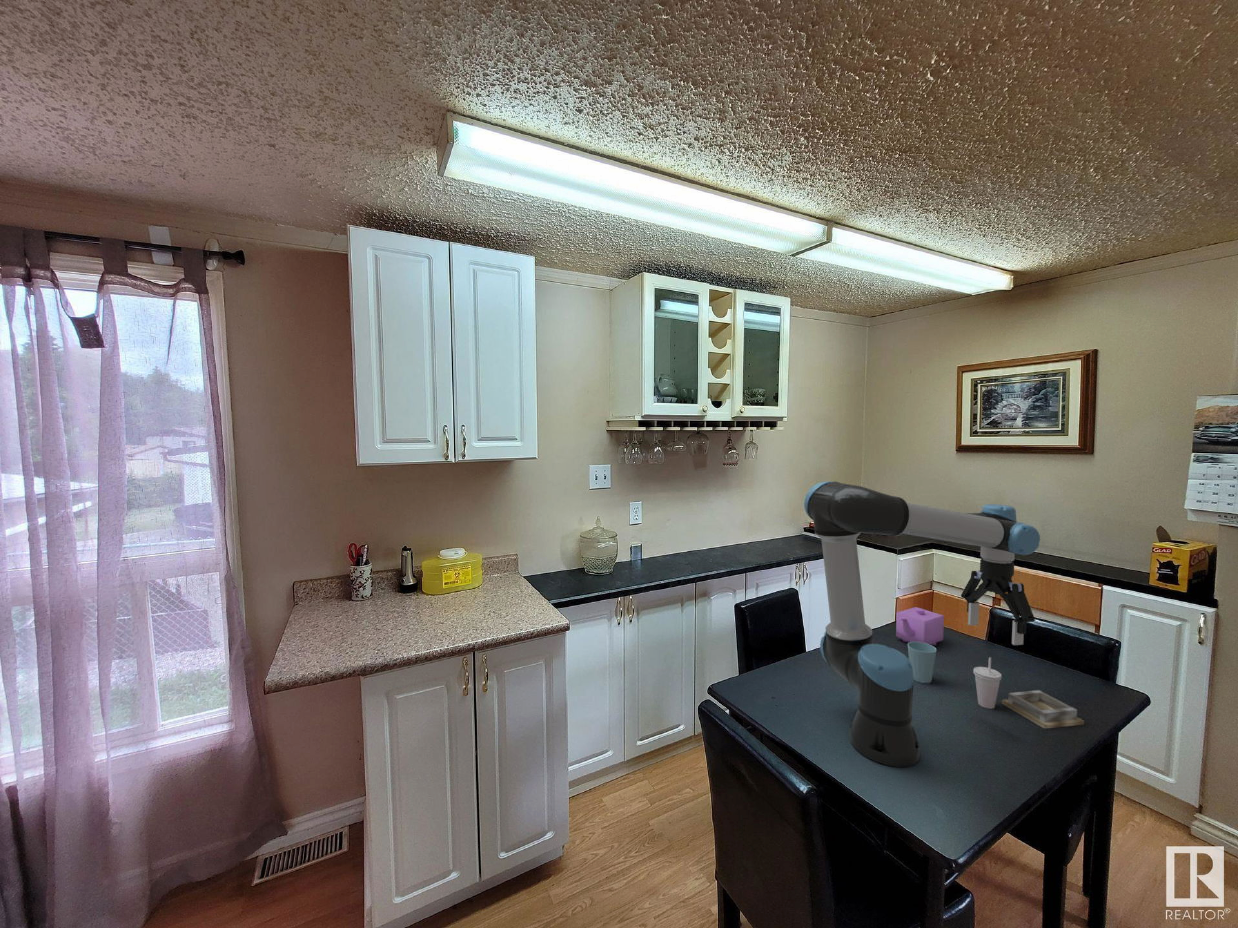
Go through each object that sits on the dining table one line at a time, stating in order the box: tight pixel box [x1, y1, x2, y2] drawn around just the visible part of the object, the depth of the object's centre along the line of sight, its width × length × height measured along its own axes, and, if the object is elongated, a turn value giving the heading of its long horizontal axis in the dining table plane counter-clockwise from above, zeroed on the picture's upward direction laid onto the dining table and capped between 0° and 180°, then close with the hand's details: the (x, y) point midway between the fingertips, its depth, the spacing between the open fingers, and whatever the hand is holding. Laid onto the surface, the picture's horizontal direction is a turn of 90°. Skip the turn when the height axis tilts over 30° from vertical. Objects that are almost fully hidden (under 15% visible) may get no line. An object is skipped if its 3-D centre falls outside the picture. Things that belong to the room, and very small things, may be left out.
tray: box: [1001, 689, 1085, 729], centre depth 132 cm, size 12×12×4 cm
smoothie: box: [973, 656, 1003, 710], centre depth 136 cm, size 6×6×14 cm
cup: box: [907, 642, 937, 684], centre depth 151 cm, size 8×8×10 cm
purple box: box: [895, 606, 945, 646], centre depth 176 cm, size 20×10×12 cm, turn 117°
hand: (994, 634), depth 136 cm, fingers open, 13 cm apart
